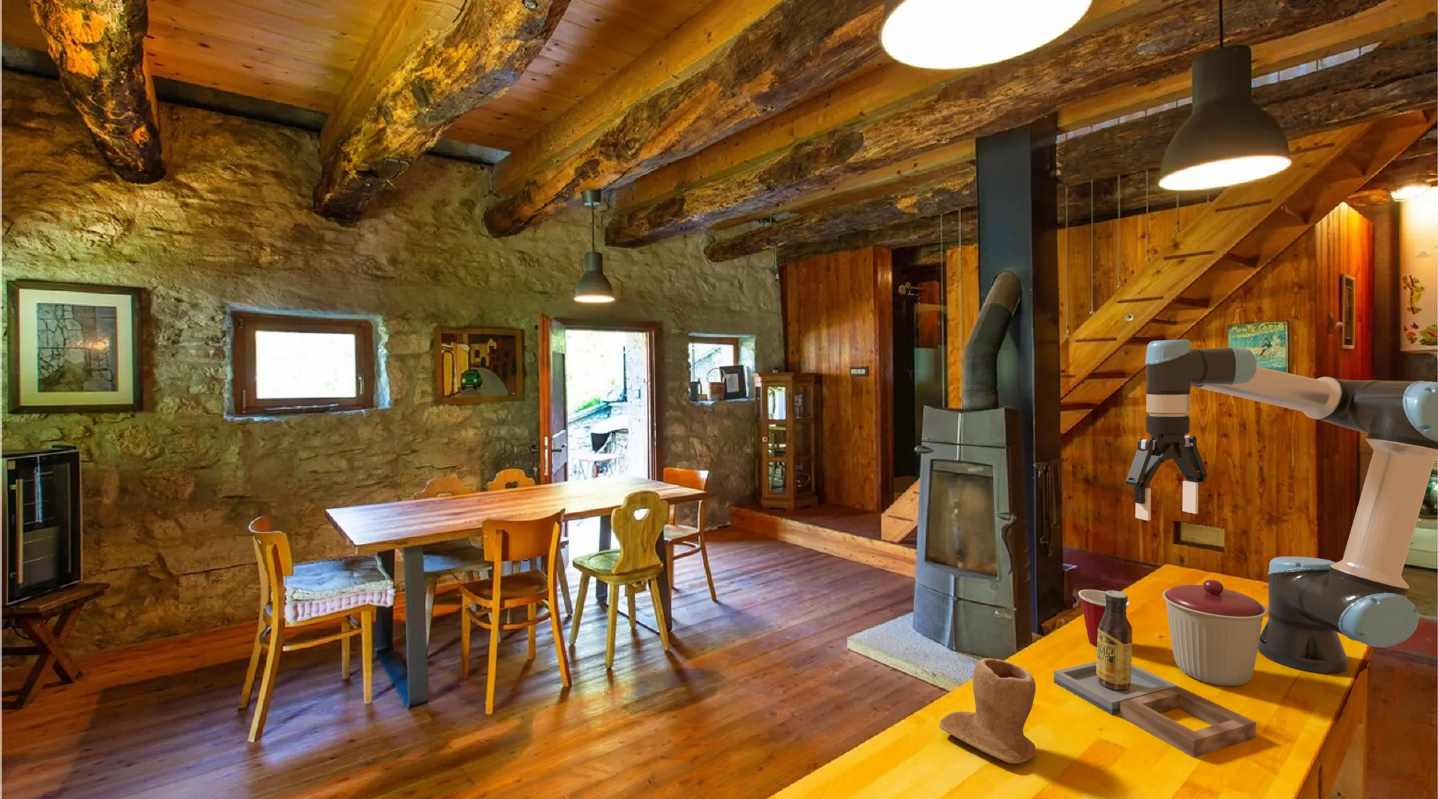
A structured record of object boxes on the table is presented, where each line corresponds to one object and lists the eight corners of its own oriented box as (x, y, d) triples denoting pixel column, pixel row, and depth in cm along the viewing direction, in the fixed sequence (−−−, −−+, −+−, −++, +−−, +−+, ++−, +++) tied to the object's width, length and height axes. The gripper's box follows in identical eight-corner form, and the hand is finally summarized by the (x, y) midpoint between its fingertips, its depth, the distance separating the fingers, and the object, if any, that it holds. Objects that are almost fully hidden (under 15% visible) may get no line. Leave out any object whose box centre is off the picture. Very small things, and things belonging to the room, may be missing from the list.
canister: (1243, 661, 146) (1244, 570, 145) (1283, 701, 129) (1285, 598, 128) (1151, 652, 152) (1151, 564, 151) (1178, 689, 135) (1178, 590, 134)
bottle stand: (1179, 700, 130) (1179, 686, 130) (1255, 738, 117) (1255, 722, 117) (1120, 716, 125) (1120, 701, 125) (1193, 757, 112) (1193, 740, 112)
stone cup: (1050, 750, 115) (1050, 669, 114) (1014, 776, 108) (1013, 690, 107) (974, 714, 127) (973, 641, 127) (937, 736, 121) (936, 658, 120)
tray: (1116, 667, 145) (1116, 656, 145) (1177, 697, 131) (1177, 685, 131) (1053, 682, 139) (1053, 671, 139) (1111, 715, 126) (1111, 702, 126)
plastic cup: (1137, 655, 150) (1138, 605, 150) (1087, 652, 152) (1087, 603, 152) (1118, 636, 161) (1119, 589, 160) (1071, 633, 163) (1071, 587, 162)
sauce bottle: (1089, 678, 138) (1089, 588, 137) (1117, 676, 139) (1117, 586, 138) (1110, 694, 132) (1110, 599, 131) (1139, 691, 132) (1139, 597, 131)
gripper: (1192, 410, 140) (1191, 506, 141) (1106, 416, 132) (1105, 517, 134) (1228, 412, 133) (1227, 513, 134) (1140, 419, 125) (1139, 526, 126)
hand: (1166, 515), depth 134 cm, fingers open, 13 cm apart
